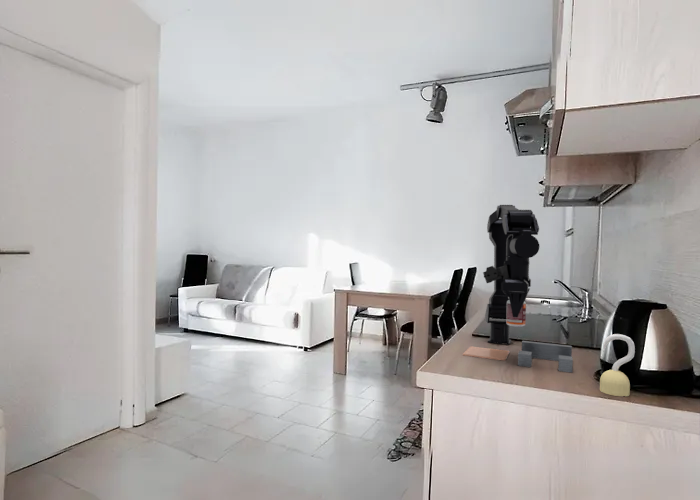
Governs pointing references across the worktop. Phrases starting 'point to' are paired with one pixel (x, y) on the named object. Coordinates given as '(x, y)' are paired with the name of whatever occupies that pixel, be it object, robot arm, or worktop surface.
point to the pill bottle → (518, 320)
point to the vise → (546, 354)
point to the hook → (614, 379)
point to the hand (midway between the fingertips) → (515, 315)
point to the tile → (486, 353)
